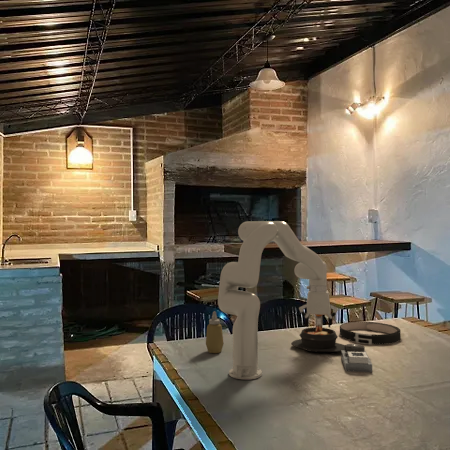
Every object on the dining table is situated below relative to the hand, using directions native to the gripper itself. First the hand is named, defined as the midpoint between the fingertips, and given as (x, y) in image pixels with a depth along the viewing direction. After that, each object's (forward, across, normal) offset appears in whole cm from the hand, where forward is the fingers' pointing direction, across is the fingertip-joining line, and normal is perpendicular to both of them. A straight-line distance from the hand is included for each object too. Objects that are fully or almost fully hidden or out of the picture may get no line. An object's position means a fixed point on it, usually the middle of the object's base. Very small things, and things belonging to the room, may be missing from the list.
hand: (318, 326), depth 208 cm
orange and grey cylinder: (+2, 0, 0) cm, 2 cm away
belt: (+11, +26, +26) cm, 38 cm away
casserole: (+11, 0, 0) cm, 11 cm away
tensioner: (+10, +14, -20) cm, 26 cm away
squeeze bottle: (+10, -46, -10) cm, 48 cm away
